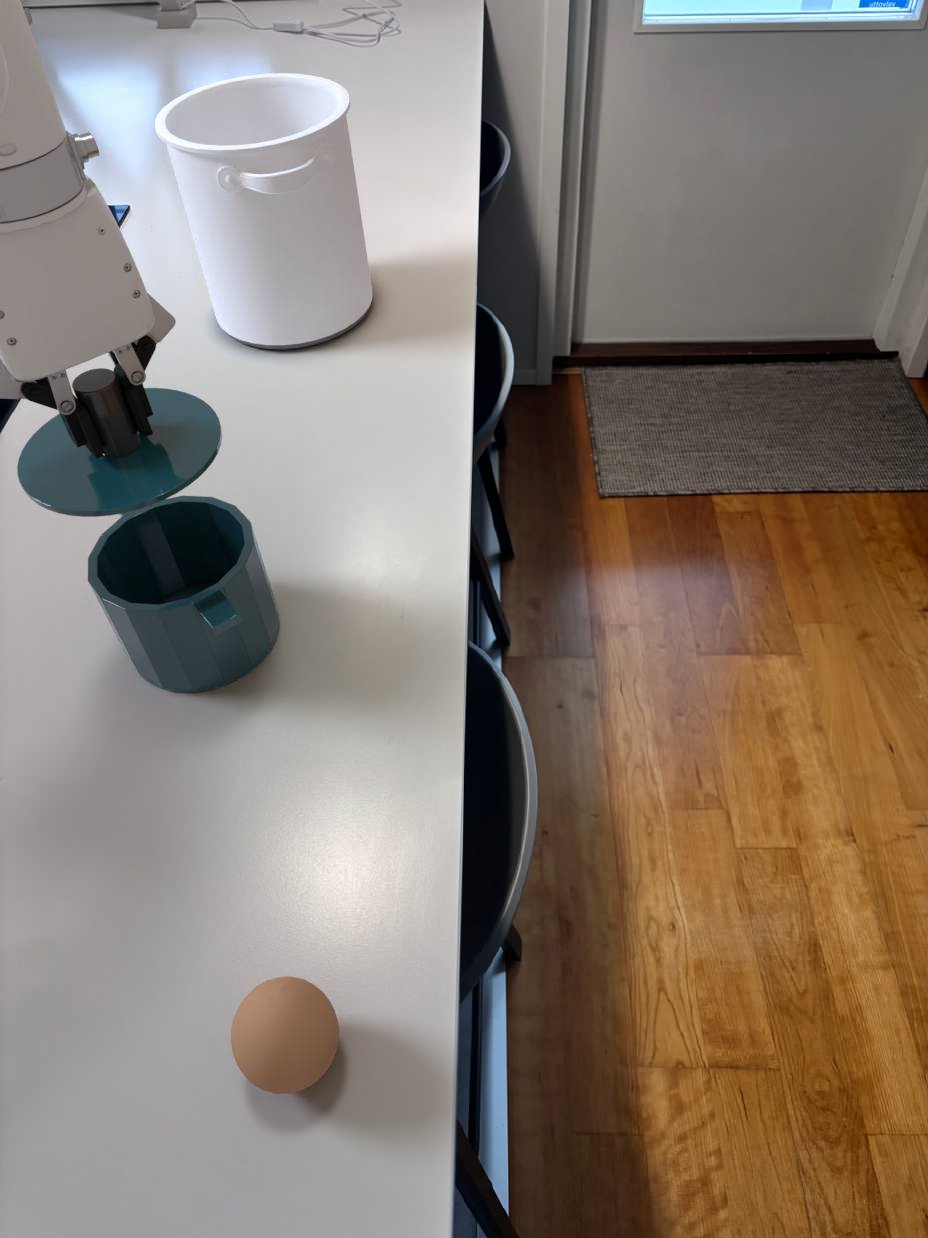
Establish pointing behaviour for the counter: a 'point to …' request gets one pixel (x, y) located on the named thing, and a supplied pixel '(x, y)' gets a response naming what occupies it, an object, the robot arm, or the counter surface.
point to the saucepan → (186, 592)
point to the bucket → (272, 205)
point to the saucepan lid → (119, 451)
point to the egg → (284, 1035)
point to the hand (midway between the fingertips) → (116, 435)
